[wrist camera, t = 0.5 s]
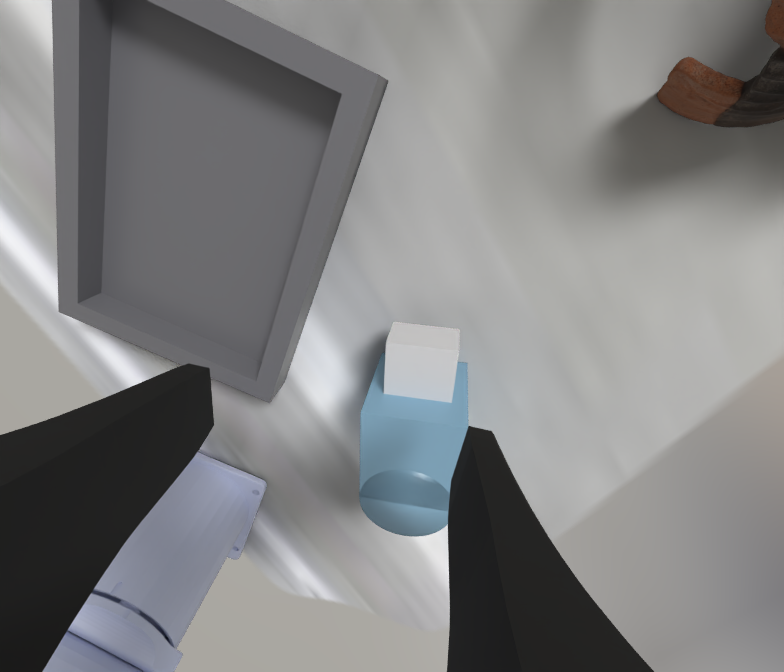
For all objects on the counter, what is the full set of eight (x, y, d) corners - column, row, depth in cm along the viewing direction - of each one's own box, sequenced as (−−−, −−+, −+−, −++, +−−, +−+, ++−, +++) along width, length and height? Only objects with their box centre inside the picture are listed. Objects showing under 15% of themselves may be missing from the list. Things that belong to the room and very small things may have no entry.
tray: (284, 381, 23) (269, 403, 21) (90, 297, 22) (58, 311, 20) (388, 80, 15) (378, 74, 14) (99, -60, 15) (50, -85, 13)
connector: (450, 466, 24) (447, 543, 19) (377, 455, 24) (358, 527, 20) (474, 316, 19) (478, 373, 15) (384, 307, 20) (361, 358, 15)
